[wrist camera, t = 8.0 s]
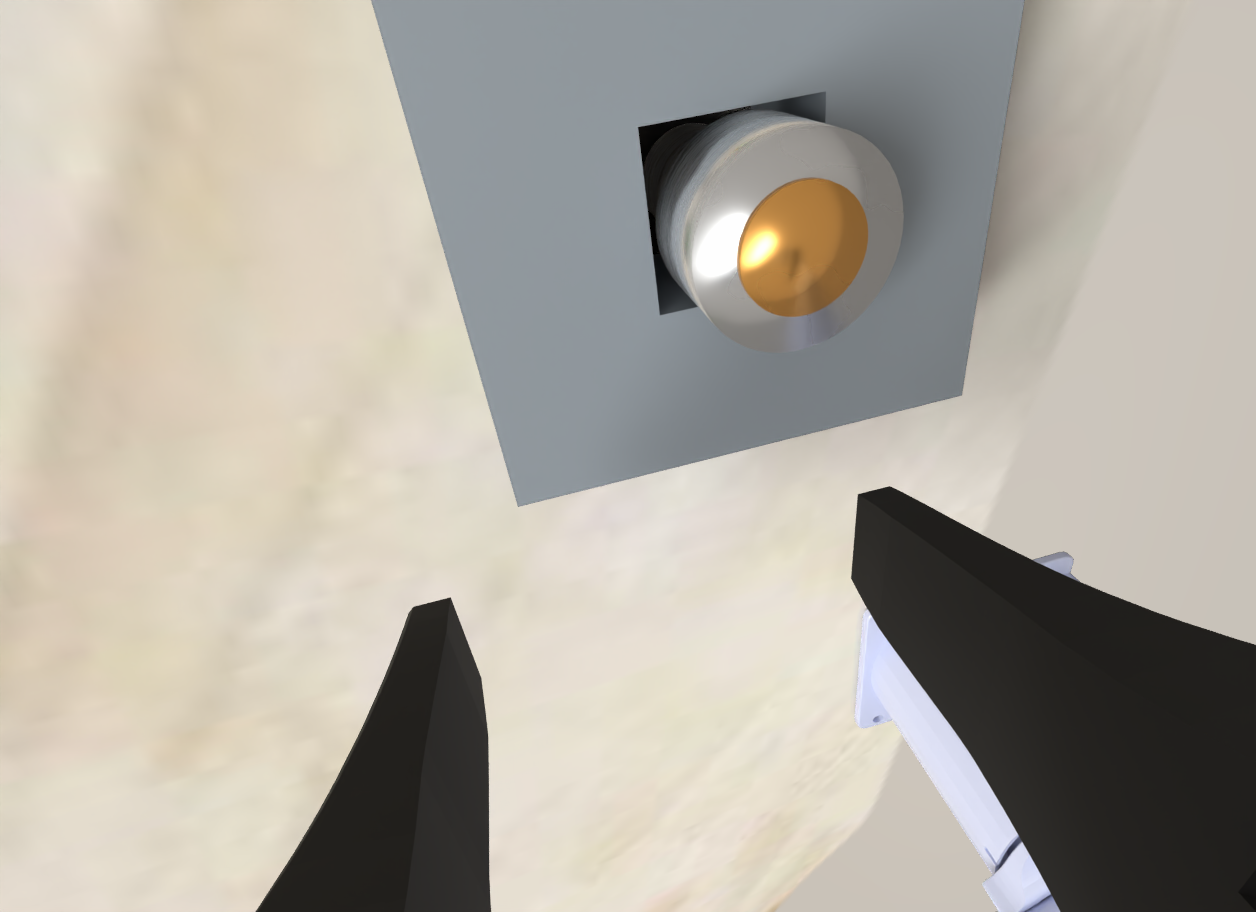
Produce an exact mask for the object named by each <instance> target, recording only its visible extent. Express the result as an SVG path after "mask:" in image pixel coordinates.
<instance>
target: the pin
mask: <svg viewBox="0 0 1256 912" xmlns="http://www.w3.org/2000/svg"><path fill="white" fill-rule="evenodd" d="M643 175H644V183H645V192H646V200H647V207H648V209H649V210H650V212H651V213H652V215H653V216H654V217H655V218H656V236H657V243H658V247H659V251H660V254H661V257H662V259H663V262H664V264H665V266H666V268H667V270H668V271H669V273H670V275H671V276H672V278H673V279H674V280H675V281H676V283H677V284H678V285H679V286H680V287H681V288H682V289H683V291H684V292H685V293H686V294H687V295H688V296H689V297H690V298H691V299H692V301H693V302H694V303H695V304H696V305H697V306H698V307H699V308H700V309H701V311H702V312H703V313H704V314H705V315H706V316H707V317H708V318H709V320H710V321H711V322H712V323H713V324H714V325H715V326H716V327H717V328H718V329H719V330H720V331H721V332H722V333H723V334H724V335H725V336H727V337H728V338H730V339H731V340H733V341H734V342H736V343H738V344H740V345H742V346H744V347H747V348H750V349H753V350H757V351H763V352H770V353H784V352H791V351H797V350H801V349H805V348H809V347H811V346H814V345H817V344H819V343H821V342H823V341H825V340H827V339H829V338H831V337H833V336H834V335H836V334H838V333H839V332H841V331H842V330H844V329H845V328H846V327H847V326H849V325H850V324H851V323H852V322H854V321H855V320H856V319H857V318H858V317H859V316H860V315H861V314H862V313H863V312H864V311H865V310H866V309H867V308H868V306H869V305H870V304H871V303H872V301H873V300H874V299H875V298H876V296H877V295H878V293H879V292H880V290H881V289H882V287H883V286H884V284H885V282H886V280H887V278H888V276H889V275H890V272H891V270H892V268H893V265H894V263H895V260H896V257H897V254H898V251H899V247H900V243H901V238H902V232H903V220H904V213H903V200H902V195H901V189H900V186H899V183H898V180H897V177H896V175H895V173H894V171H893V169H892V167H891V165H890V163H889V162H888V160H887V159H886V158H885V156H884V155H883V153H882V152H881V151H880V150H879V149H878V148H877V147H876V146H875V145H874V144H873V143H871V142H870V141H868V140H867V139H865V138H864V137H862V136H861V135H859V134H857V133H854V132H852V131H850V130H847V129H843V128H840V127H836V126H832V125H829V124H825V123H821V122H818V121H814V120H810V119H807V118H803V117H799V116H796V115H792V114H788V113H785V112H781V111H777V110H772V109H748V110H743V111H739V112H735V113H732V114H729V115H727V116H724V117H722V118H720V119H718V120H716V121H714V122H713V123H711V124H709V125H707V124H703V123H686V124H682V125H679V126H676V127H674V128H672V129H670V130H669V131H667V132H666V133H665V134H663V135H662V136H661V137H660V138H659V139H658V140H657V141H656V142H655V144H654V145H653V146H652V148H651V149H650V151H649V153H648V155H647V157H646V160H645V162H644V166H643Z"/></svg>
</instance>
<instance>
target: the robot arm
mask: <svg viewBox="0 0 1256 912" xmlns="http://www.w3.org/2000/svg"><path fill="white" fill-rule="evenodd" d="M1073 560H1074V559H1073V558H1072V557H1071V556H1070V555H1069V554H1068V553H1066V552H1058V553H1055V554H1052V555H1048V556H1044V557H1041V558H1038V559H1034V560H1031V559H1029V558H1027V557H1025V556H1023V555H1021V554H1019V553H1017V552H1015V551H1013V550H1011V549H1008V548H1007V547H1005V546H1003V545H1001V544H999V543H997V542H995V541H993V540H991V539H989V538H987V537H985V536H983V535H981V534H980V533H978V532H976V531H974V530H972V529H970V528H968V527H966V526H964V525H963V524H961V523H959V522H957V521H955V520H953V519H951V518H949V517H948V516H946V515H944V514H942V513H940V512H938V511H936V510H935V509H933V508H931V507H929V506H927V505H925V504H923V503H922V502H920V501H918V500H916V499H914V498H912V497H910V496H908V495H906V494H904V493H903V492H901V491H899V490H896V489H894V488H892V487H890V486H889V487H885V488H881V489H877V490H873V491H869V492H865V493H861V494H858V501H857V513H856V526H855V538H854V550H853V563H852V575H851V579H852V581H853V583H854V585H855V587H856V588H857V590H858V592H859V594H860V596H861V598H862V600H863V602H864V603H865V605H866V607H867V610H866V611H865V613H864V615H863V624H862V636H861V648H860V660H859V672H858V684H857V696H856V708H855V722H856V723H857V725H858V726H859V727H860V728H868V727H872V726H875V725H878V724H881V723H885V722H888V721H891V720H893V722H894V723H895V725H896V726H897V728H898V729H899V731H900V732H901V734H902V736H903V737H904V739H905V740H906V742H907V743H908V745H909V746H910V748H911V749H912V751H913V753H914V754H915V756H916V757H917V759H918V760H919V762H920V763H921V765H922V766H923V768H924V769H925V771H926V773H927V774H928V776H929V777H930V779H931V780H932V782H933V783H934V785H935V786H936V788H937V790H938V791H939V793H940V794H941V796H942V797H943V799H944V800H945V802H946V803H947V805H948V806H949V808H950V809H951V811H952V813H953V814H954V816H955V817H956V819H957V820H958V822H959V823H960V825H961V827H962V828H963V830H964V831H965V833H966V834H967V836H968V837H969V839H970V841H971V842H972V844H973V845H974V847H975V848H976V850H977V851H978V853H979V855H980V856H981V858H982V859H983V861H984V862H985V864H986V865H987V867H988V868H989V870H990V872H991V873H992V876H991V877H989V878H988V879H987V880H985V881H984V882H983V884H982V885H983V887H984V889H985V890H986V892H987V893H988V895H989V897H990V898H991V900H992V901H993V903H994V905H995V906H996V908H997V910H998V911H996V912H1256V645H1254V644H1251V643H1248V642H1244V641H1240V640H1237V639H1234V638H1231V637H1228V636H1225V635H1222V634H1219V633H1216V632H1213V631H1210V630H1207V629H1204V628H1200V627H1197V626H1194V625H1191V624H1188V623H1185V622H1182V621H1179V620H1176V619H1173V618H1171V617H1168V616H1165V615H1162V614H1159V613H1157V612H1154V611H1151V610H1149V609H1146V608H1143V607H1141V606H1138V605H1136V604H1133V603H1131V602H1128V601H1125V600H1123V599H1120V598H1118V597H1115V596H1112V595H1110V594H1107V593H1105V592H1102V591H1100V590H1098V589H1095V588H1093V587H1091V586H1088V585H1086V584H1083V583H1081V582H1080V581H1078V580H1077V579H1076V578H1075V577H1074V576H1073V575H1072V574H1071V573H1070V572H1071V569H1072V565H1073ZM256 912H491V905H490V882H489V762H488V731H487V722H486V713H485V705H484V697H483V689H482V681H481V676H480V674H479V671H478V668H477V666H476V663H475V661H474V658H473V655H472V653H471V650H470V647H469V645H468V642H467V640H466V637H465V634H464V632H463V629H462V626H461V624H460V621H459V618H458V616H457V613H456V611H455V608H454V605H453V603H452V600H451V598H447V599H443V600H439V601H435V602H431V603H427V604H423V605H419V606H415V607H413V608H412V610H411V611H410V612H409V614H408V617H407V619H406V622H405V625H404V628H403V631H402V634H401V636H400V639H399V642H398V644H397V647H396V650H395V652H394V655H393V657H392V660H391V662H390V665H389V667H388V670H387V672H386V675H385V677H384V680H383V682H382V684H381V687H380V689H379V691H378V693H377V696H376V698H375V700H374V702H373V705H372V707H371V709H370V711H369V714H368V716H367V718H366V720H365V723H364V725H363V727H362V729H361V731H360V733H359V735H358V737H357V739H356V741H355V743H354V745H353V747H352V749H351V751H350V753H349V755H348V757H347V759H346V761H345V763H344V765H343V767H342V769H341V771H340V773H339V775H338V777H337V779H336V781H335V783H334V784H333V786H332V788H331V790H330V792H329V794H328V795H327V797H326V799H325V801H324V803H323V804H322V806H321V808H320V810H319V812H318V813H317V815H316V817H315V818H314V820H313V822H312V824H311V825H310V827H309V829H308V830H307V832H306V834H305V835H304V837H303V839H302V840H301V842H300V844H299V845H298V847H297V849H296V850H295V852H294V854H293V855H292V857H291V858H290V860H289V861H288V863H287V865H286V866H285V868H284V869H283V871H282V872H281V874H280V875H279V877H278V878H277V880H276V881H275V883H274V884H273V886H272V888H271V889H270V891H269V892H268V894H267V895H266V897H265V898H264V900H263V901H262V903H261V904H260V906H259V907H258V909H257V910H256Z"/></svg>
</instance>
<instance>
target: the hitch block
mask: <svg viewBox="0 0 1256 912" xmlns="http://www.w3.org/2000/svg"><path fill="white" fill-rule="evenodd" d="M371 1H372V5H373V8H374V12H375V15H376V19H377V22H378V25H379V29H380V32H381V36H382V39H383V43H384V46H385V50H386V53H387V56H388V60H389V63H390V67H391V70H392V74H393V77H394V81H395V84H396V87H397V91H398V94H399V98H400V101H401V105H402V108H403V112H404V115H405V118H406V122H407V125H408V129H409V132H410V136H411V139H412V143H413V146H414V150H415V153H416V156H417V160H418V163H419V167H420V170H421V174H422V177H423V181H424V184H425V187H426V191H427V194H428V198H429V201H430V205H431V208H432V212H433V215H434V218H435V222H436V225H437V229H438V232H439V236H440V239H441V243H442V246H443V249H444V253H445V256H446V260H447V263H448V267H449V270H450V274H451V277H452V281H453V284H454V287H455V291H456V294H457V298H458V301H459V305H460V308H461V312H462V315H463V318H464V322H465V325H466V329H467V332H468V336H469V339H470V343H471V346H472V349H473V353H474V356H475V360H476V363H477V367H478V370H479V374H480V377H481V381H482V384H483V387H484V391H485V394H486V398H487V401H488V405H489V408H490V412H491V415H492V418H493V422H494V425H495V429H496V432H497V436H498V439H499V443H500V446H501V449H502V453H503V456H504V460H505V463H506V467H507V470H508V474H509V477H510V480H511V484H512V487H513V491H514V494H515V498H516V501H517V505H518V507H519V506H523V505H527V504H531V503H535V502H539V501H543V500H547V499H551V498H555V497H559V496H563V495H567V494H571V493H575V492H579V491H583V490H587V489H591V488H595V487H599V486H603V485H607V484H611V483H615V482H619V481H623V480H627V479H631V478H635V477H639V476H643V475H647V474H651V473H655V472H659V471H663V470H667V469H671V468H675V467H679V466H683V465H687V464H691V463H695V462H699V461H703V460H707V459H711V458H714V457H718V456H722V455H726V454H730V453H734V452H738V451H742V450H746V449H750V448H754V447H758V446H762V445H766V444H770V443H774V442H778V441H782V440H786V439H790V438H794V437H798V436H802V435H806V434H810V433H814V432H818V431H822V430H826V429H830V428H834V427H838V426H842V425H846V424H850V423H854V422H858V421H862V420H866V419H870V418H874V417H878V416H882V415H886V414H890V413H894V412H898V411H902V410H906V409H910V408H914V407H918V406H922V405H925V404H929V403H933V402H937V401H941V400H945V399H949V398H953V397H957V396H961V395H962V391H963V384H964V378H965V372H966V365H967V359H968V353H969V347H970V340H971V334H972V328H973V321H974V315H975V309H976V303H977V296H978V290H979V284H980V277H981V271H982V265H983V259H984V252H985V246H986V240H987V233H988V227H989V221H990V215H991V208H992V202H993V196H994V189H995V183H996V177H997V171H998V164H999V158H1000V152H1001V146H1002V139H1003V133H1004V127H1005V120H1006V114H1007V108H1008V102H1009V95H1010V89H1011V83H1012V76H1013V70H1014V64H1015V58H1016V51H1017V45H1018V39H1019V32H1020V26H1021V20H1022V14H1023V7H1024V1H1025V0H371ZM746 106H750V109H772V110H777V111H781V112H785V113H788V114H792V115H796V116H799V117H803V118H807V119H810V120H814V121H818V122H821V123H825V124H829V125H832V126H836V127H840V128H843V129H847V130H850V131H852V132H854V133H857V134H859V135H861V136H862V137H864V138H865V139H867V140H868V141H870V142H871V143H873V144H874V145H875V146H876V147H877V148H878V149H879V150H880V151H881V152H882V153H883V155H884V156H885V158H886V159H887V160H888V162H889V163H890V165H891V167H892V169H893V171H894V173H895V175H896V177H897V180H898V183H899V186H900V189H901V195H902V200H903V213H904V220H903V232H902V238H901V243H900V247H899V251H898V254H897V257H896V260H895V263H894V265H893V268H892V270H891V272H890V275H889V276H888V278H887V280H886V282H885V284H884V286H883V287H882V289H881V290H880V292H879V293H878V295H877V296H876V298H875V299H874V300H873V301H872V303H871V304H870V305H869V306H868V308H867V309H866V310H865V311H864V312H863V313H862V314H861V315H860V316H859V317H858V318H857V319H856V320H855V321H854V322H852V323H851V324H850V325H849V326H847V327H846V328H845V329H844V330H842V331H841V332H839V333H838V334H836V335H834V336H833V337H831V338H829V339H827V340H825V341H823V342H821V343H819V344H817V345H814V346H811V347H809V348H805V349H801V350H797V351H791V352H784V353H770V352H763V351H757V350H753V349H750V348H747V347H744V346H742V345H740V344H738V343H736V342H734V341H733V340H731V339H730V338H728V337H727V336H725V335H724V334H723V333H722V332H721V331H720V330H719V329H718V328H717V327H716V326H715V325H714V324H713V323H712V322H711V321H710V320H709V318H708V317H707V316H706V315H705V314H704V313H703V312H702V311H701V309H700V308H699V307H698V306H697V305H696V304H695V303H694V302H693V301H692V299H691V298H690V297H689V296H688V295H687V294H686V293H685V292H684V291H683V289H682V288H681V287H680V286H679V285H678V284H677V283H676V281H675V280H674V279H673V278H672V276H671V275H670V273H669V271H668V270H667V268H666V266H665V264H664V262H663V259H662V257H661V254H655V255H653V252H652V243H651V234H650V226H649V217H648V209H647V200H646V192H645V183H644V175H643V166H642V157H641V149H640V140H639V132H638V127H641V126H646V125H652V124H657V123H662V122H667V121H673V120H678V119H683V118H689V117H694V116H699V115H704V114H710V113H715V112H720V111H725V110H731V109H736V108H741V107H746Z"/></svg>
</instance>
